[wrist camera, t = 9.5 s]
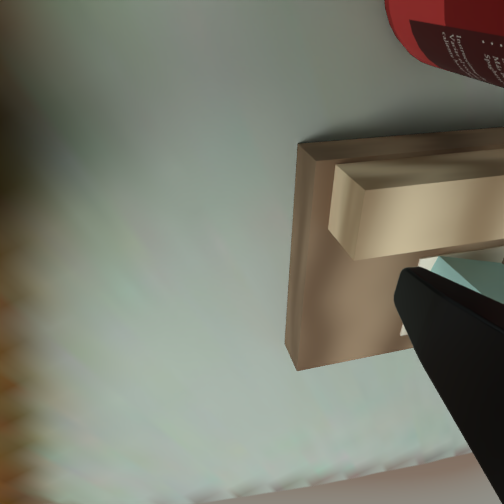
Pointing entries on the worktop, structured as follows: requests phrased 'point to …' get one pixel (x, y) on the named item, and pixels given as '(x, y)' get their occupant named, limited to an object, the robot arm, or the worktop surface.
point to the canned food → (453, 35)
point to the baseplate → (360, 271)
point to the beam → (418, 203)
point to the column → (473, 275)
